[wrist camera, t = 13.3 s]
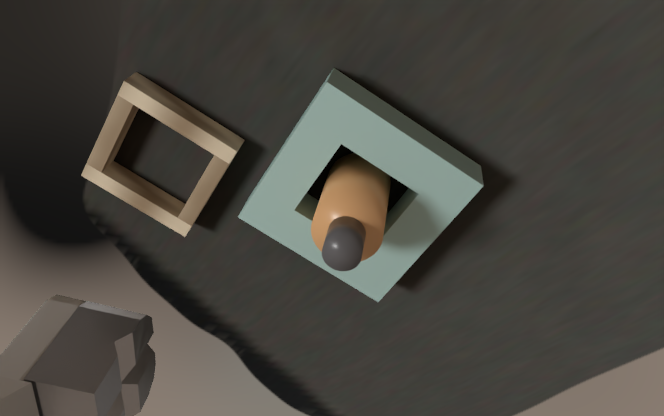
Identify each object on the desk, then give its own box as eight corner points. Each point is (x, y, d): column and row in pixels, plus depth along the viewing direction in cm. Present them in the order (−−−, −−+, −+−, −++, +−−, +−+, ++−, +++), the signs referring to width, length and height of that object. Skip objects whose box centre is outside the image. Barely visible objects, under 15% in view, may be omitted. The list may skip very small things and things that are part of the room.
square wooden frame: (94, 164, 47) (81, 175, 45) (136, 71, 43) (124, 80, 41) (193, 223, 48) (184, 236, 47) (244, 139, 44) (236, 151, 42)
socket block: (248, 197, 47) (237, 217, 44) (333, 67, 41) (326, 81, 38) (381, 278, 48) (378, 302, 46) (480, 166, 43) (483, 185, 40)
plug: (316, 187, 45) (289, 260, 37) (349, 141, 43) (329, 207, 35) (367, 220, 46) (352, 298, 38) (403, 175, 44) (395, 249, 36)
